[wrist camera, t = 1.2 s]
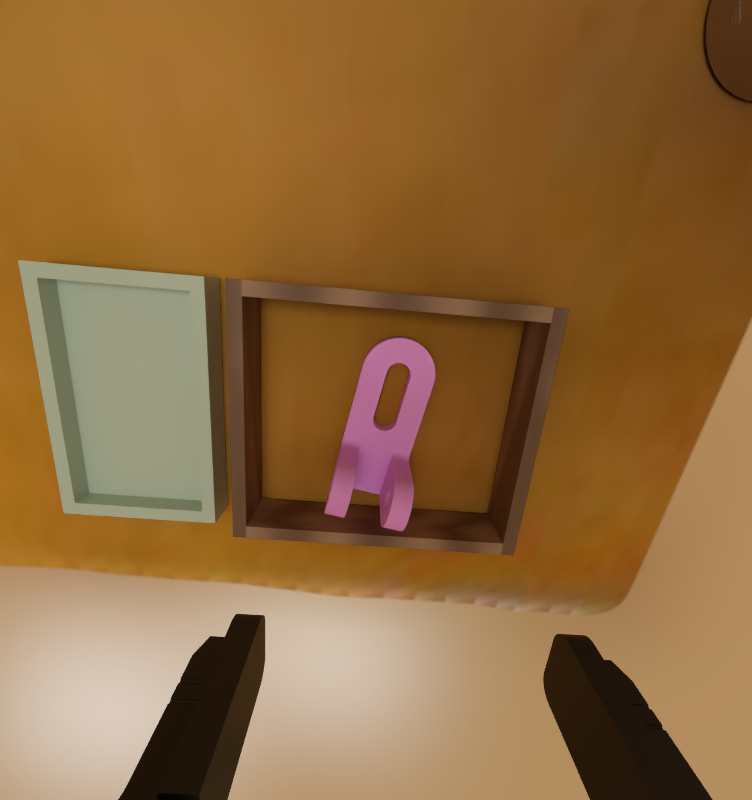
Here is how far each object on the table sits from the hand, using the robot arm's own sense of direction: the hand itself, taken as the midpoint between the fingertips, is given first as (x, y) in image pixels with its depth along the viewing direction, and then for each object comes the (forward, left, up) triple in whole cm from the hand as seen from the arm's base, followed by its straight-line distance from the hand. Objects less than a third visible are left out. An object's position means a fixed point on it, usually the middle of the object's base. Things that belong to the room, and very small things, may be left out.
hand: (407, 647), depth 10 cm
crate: (0, 0, -20) cm, 20 cm away
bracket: (0, 0, -20) cm, 20 cm away
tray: (+19, 0, -20) cm, 28 cm away
